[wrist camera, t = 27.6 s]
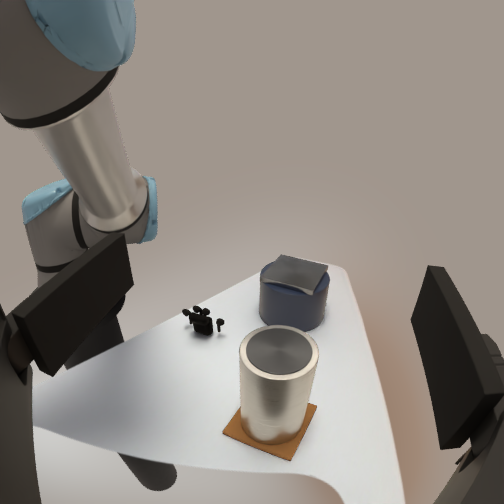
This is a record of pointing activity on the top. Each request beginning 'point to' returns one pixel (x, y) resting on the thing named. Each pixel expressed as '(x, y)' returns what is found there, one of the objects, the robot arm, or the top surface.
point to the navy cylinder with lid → (293, 293)
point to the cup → (275, 382)
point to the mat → (280, 450)
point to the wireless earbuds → (202, 320)
